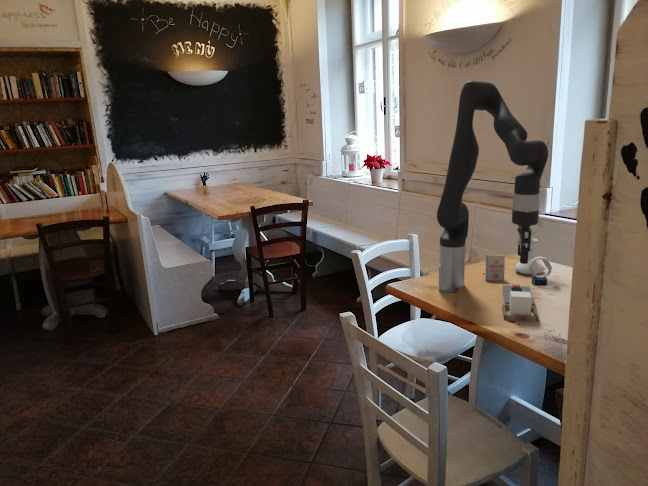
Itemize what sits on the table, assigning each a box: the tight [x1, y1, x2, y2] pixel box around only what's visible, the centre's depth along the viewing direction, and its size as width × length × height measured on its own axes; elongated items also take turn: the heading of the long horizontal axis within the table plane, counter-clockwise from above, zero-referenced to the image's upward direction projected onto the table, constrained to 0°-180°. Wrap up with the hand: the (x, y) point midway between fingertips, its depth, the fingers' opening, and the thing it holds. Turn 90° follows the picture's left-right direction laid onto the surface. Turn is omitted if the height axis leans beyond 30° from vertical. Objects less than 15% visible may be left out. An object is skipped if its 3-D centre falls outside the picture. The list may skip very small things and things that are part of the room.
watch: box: [529, 255, 553, 287], centre depth 191 cm, size 6×8×11 cm
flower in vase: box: [514, 216, 546, 275], centre depth 205 cm, size 13×11×25 cm
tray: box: [501, 303, 540, 323], centre depth 162 cm, size 10×9×3 cm
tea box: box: [484, 254, 506, 282], centre depth 199 cm, size 4×7×10 cm, turn 76°
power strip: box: [501, 283, 536, 307], centre depth 175 cm, size 9×17×4 cm, turn 164°
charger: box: [509, 291, 533, 316], centre depth 162 cm, size 6×5×8 cm
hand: (522, 259), depth 158 cm, fingers open, 8 cm apart
